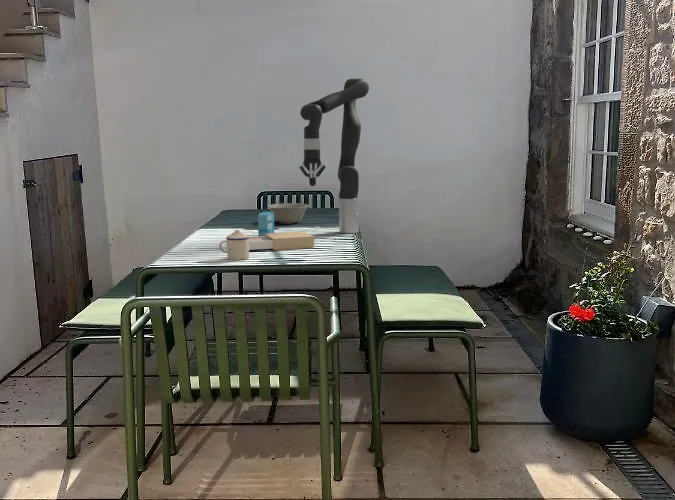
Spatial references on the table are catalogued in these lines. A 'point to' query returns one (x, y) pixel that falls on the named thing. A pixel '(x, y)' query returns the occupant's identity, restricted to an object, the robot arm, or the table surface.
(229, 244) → the teacup with lid
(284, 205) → the ceramic bowl
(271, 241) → the tray
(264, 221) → the data package
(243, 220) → the table surface
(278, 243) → the mailer sleeve
